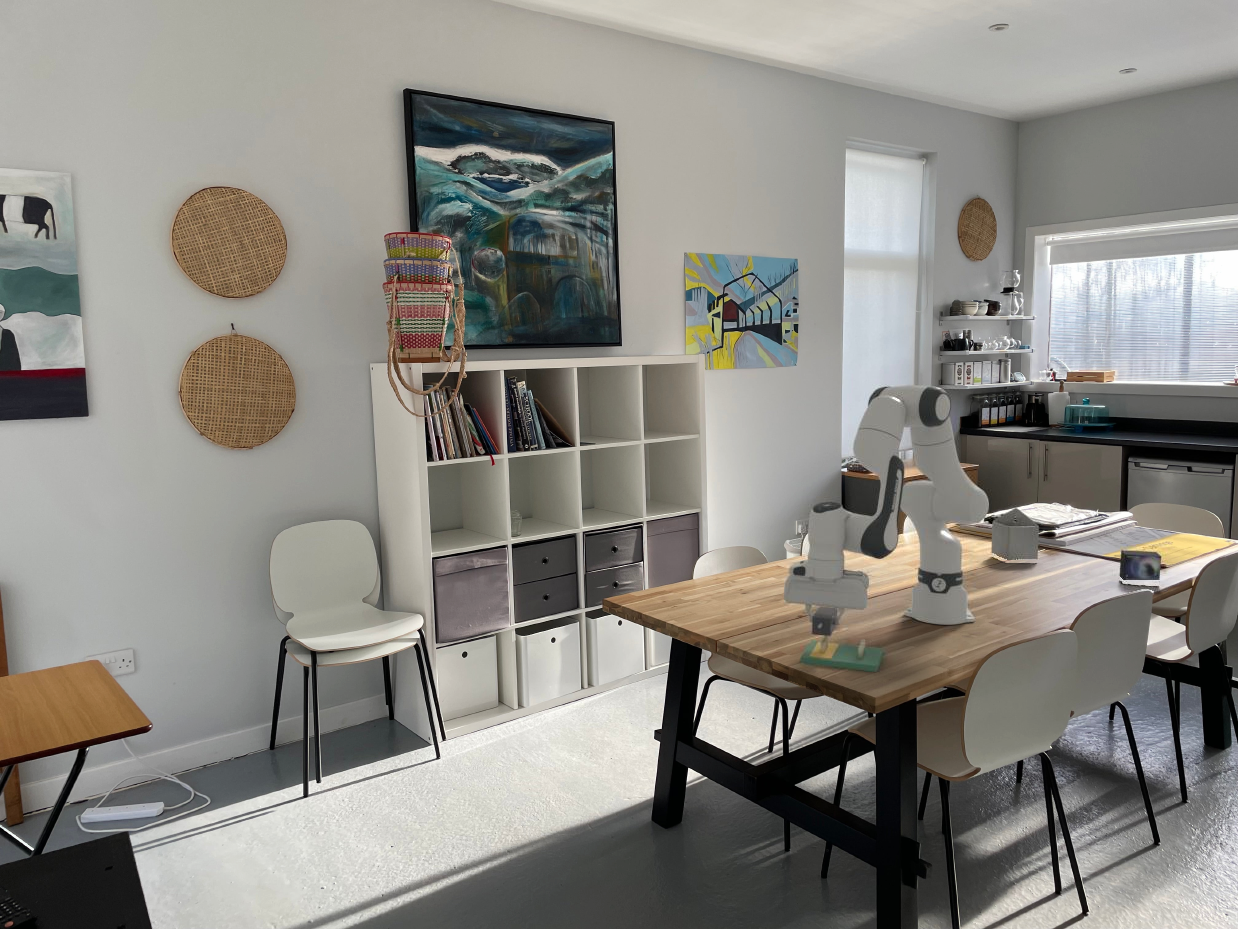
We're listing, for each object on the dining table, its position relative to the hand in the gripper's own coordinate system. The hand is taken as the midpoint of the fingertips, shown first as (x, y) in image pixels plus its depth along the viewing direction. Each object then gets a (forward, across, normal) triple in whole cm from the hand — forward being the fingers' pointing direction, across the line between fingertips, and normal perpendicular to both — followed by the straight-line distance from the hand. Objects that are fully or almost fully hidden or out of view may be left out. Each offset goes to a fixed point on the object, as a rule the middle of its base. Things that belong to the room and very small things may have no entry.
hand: (824, 623), depth 222 cm
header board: (+8, -4, 0) cm, 10 cm away
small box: (+9, -82, -109) cm, 137 cm away
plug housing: (+2, 0, +2) cm, 2 cm away
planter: (+9, -44, -130) cm, 138 cm away
